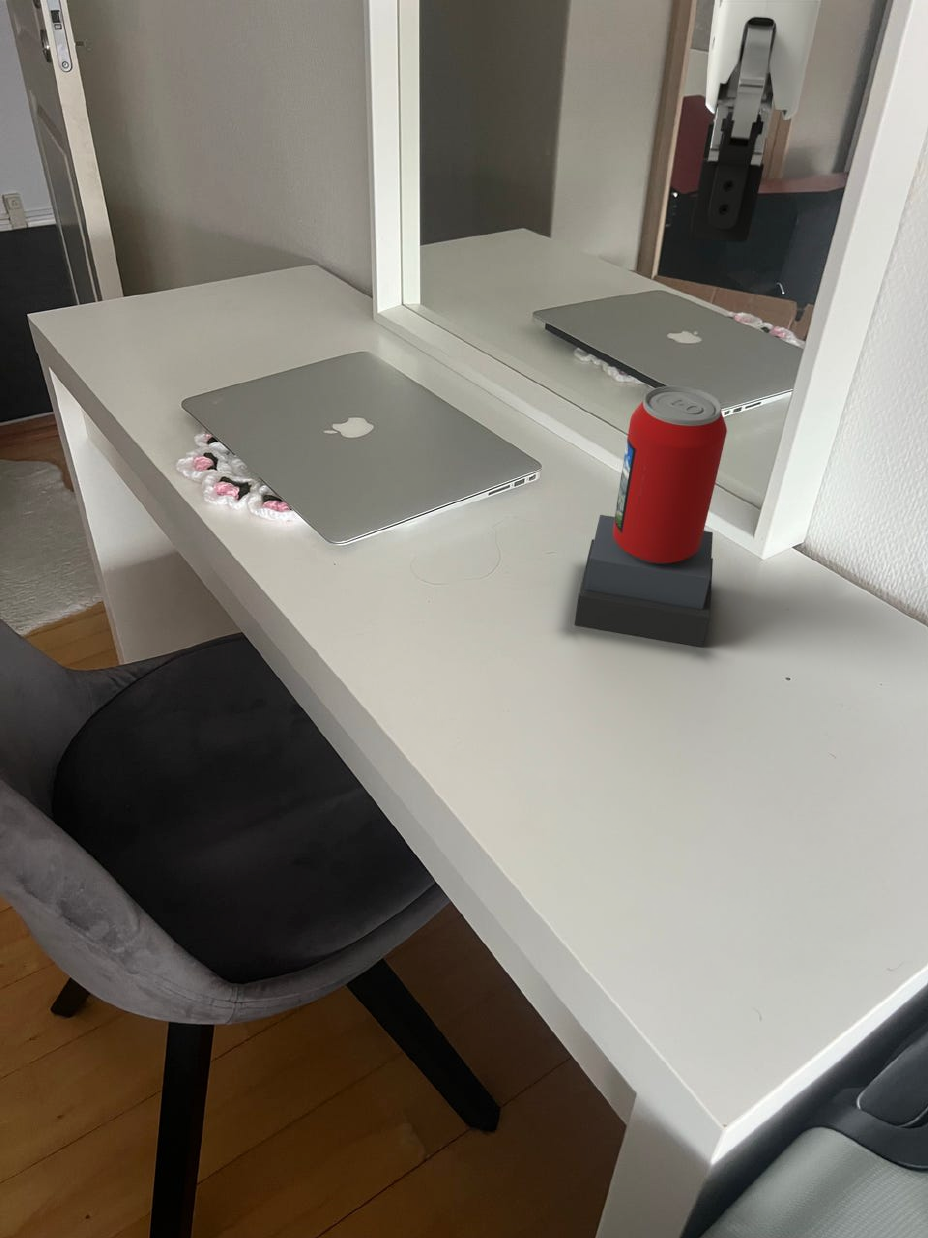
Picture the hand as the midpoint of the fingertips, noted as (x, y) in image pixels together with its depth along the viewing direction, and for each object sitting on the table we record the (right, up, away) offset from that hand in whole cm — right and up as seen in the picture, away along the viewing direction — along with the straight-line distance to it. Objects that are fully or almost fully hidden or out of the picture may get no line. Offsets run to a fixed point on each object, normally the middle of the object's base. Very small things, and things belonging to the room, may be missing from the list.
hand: (719, 214), depth 55 cm
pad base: (-1, -23, +19) cm, 30 cm away
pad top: (-1, -21, +17) cm, 27 cm away
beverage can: (-1, -19, +16) cm, 25 cm away
